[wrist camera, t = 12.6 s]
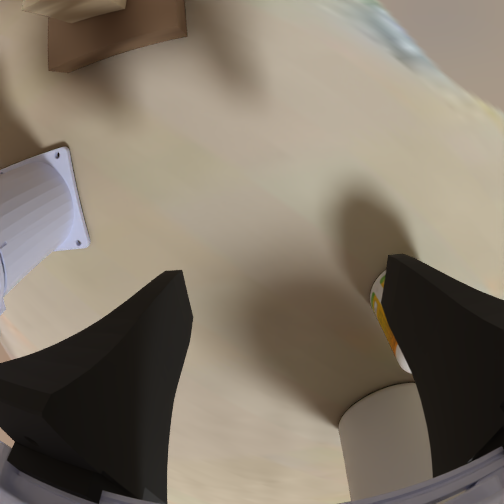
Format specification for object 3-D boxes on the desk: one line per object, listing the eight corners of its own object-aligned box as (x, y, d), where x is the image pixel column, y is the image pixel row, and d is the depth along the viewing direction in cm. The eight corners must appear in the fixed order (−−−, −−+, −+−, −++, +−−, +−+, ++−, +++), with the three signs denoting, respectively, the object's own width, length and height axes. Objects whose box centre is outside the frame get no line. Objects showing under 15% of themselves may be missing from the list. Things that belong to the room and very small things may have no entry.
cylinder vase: (445, 374, 28) (512, 543, 6) (404, 429, 34) (440, 569, 11) (356, 383, 28) (401, 604, 5) (325, 438, 33) (344, 602, 11)
